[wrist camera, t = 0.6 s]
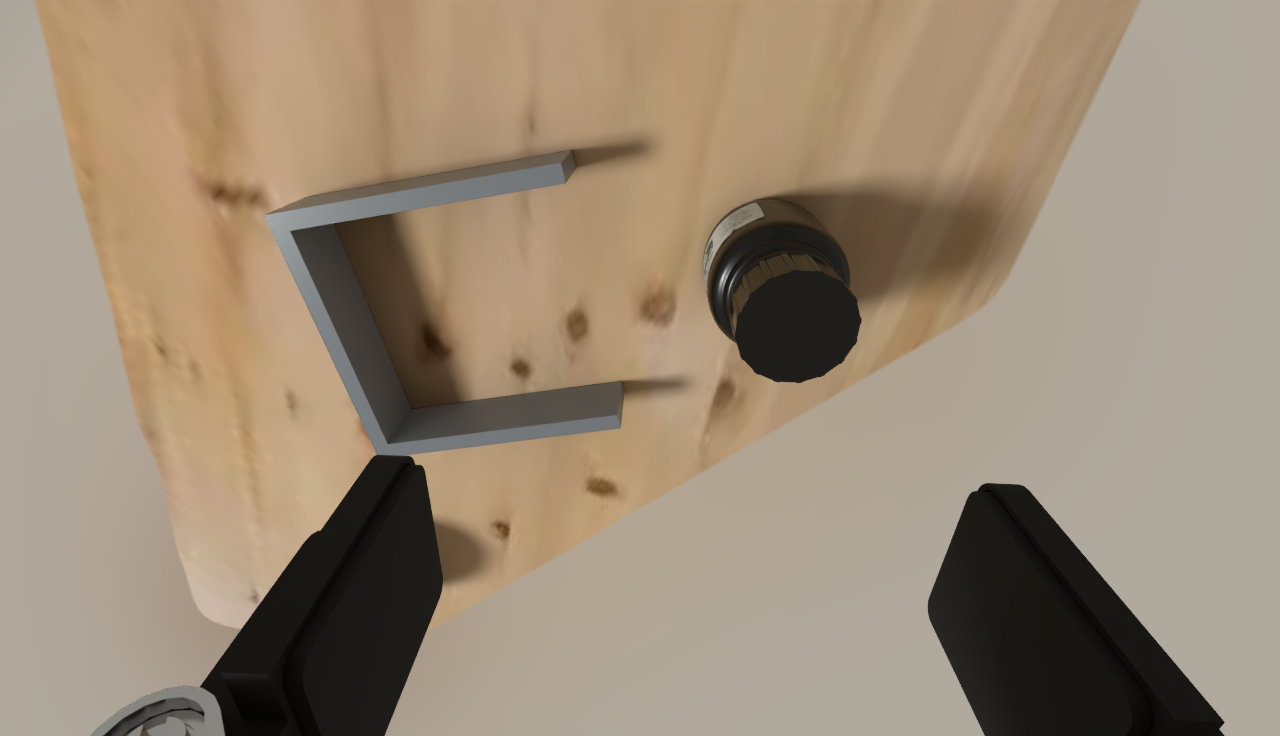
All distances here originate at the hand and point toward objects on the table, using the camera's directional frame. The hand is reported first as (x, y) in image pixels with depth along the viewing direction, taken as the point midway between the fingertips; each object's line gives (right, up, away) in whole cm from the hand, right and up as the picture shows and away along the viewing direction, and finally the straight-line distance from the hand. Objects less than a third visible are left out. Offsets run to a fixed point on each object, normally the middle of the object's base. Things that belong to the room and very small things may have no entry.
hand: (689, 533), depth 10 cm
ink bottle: (+8, +11, +32) cm, 35 cm away
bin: (-13, +8, +35) cm, 38 cm away
